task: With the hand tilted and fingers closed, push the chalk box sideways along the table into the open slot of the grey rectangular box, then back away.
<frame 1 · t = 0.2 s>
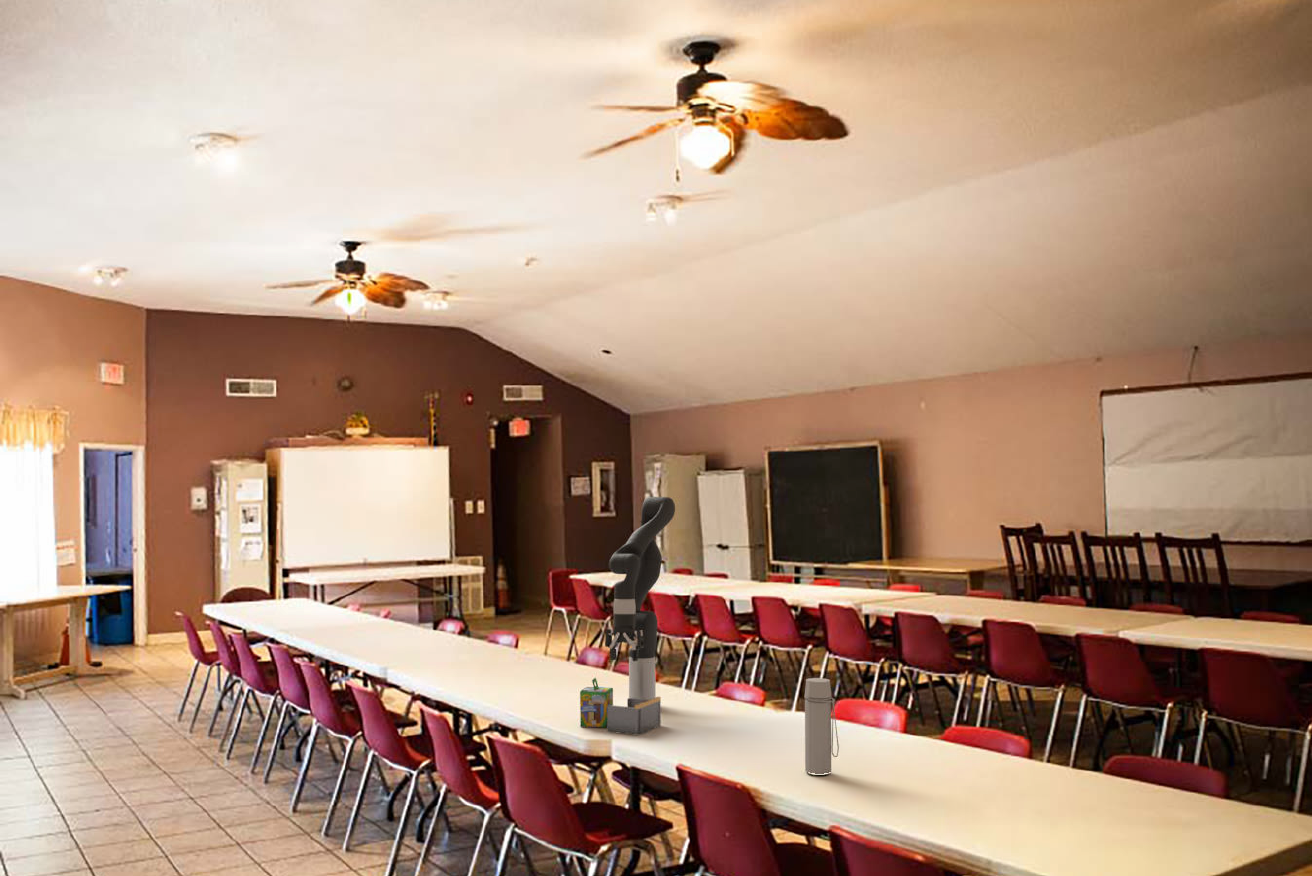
hand: (624, 660, 389), 18 cm above the table, tool pointing down, fingers open, 8 cm apart
chalk box: (596, 725, 371), on the table
grey rectangular box: (635, 728, 364), on the table
water bottle: (821, 774, 308), on the table
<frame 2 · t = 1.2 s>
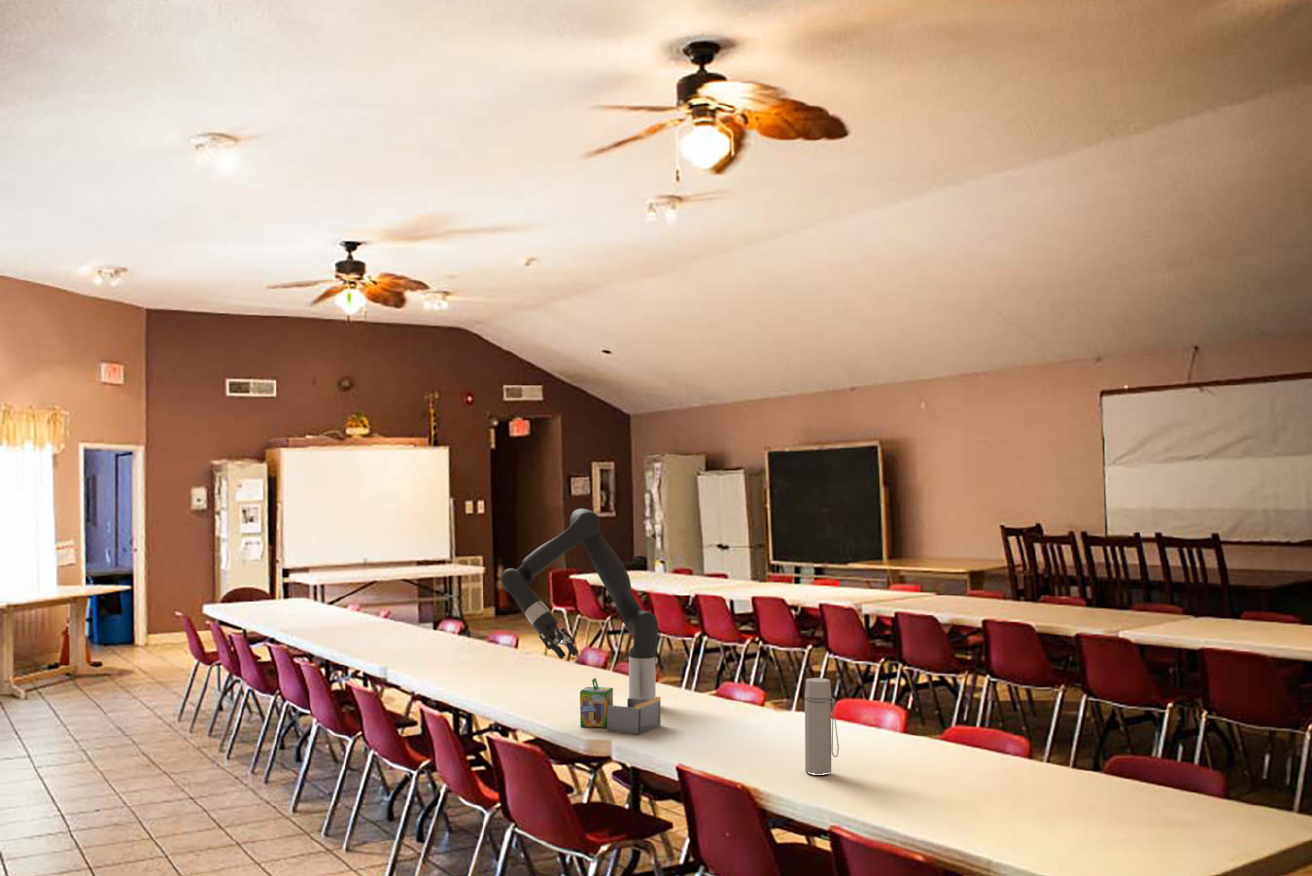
hand: (570, 655, 376), 22 cm above the table, tool tilted 45°, fingers open, 8 cm apart
nothing on the table moved.
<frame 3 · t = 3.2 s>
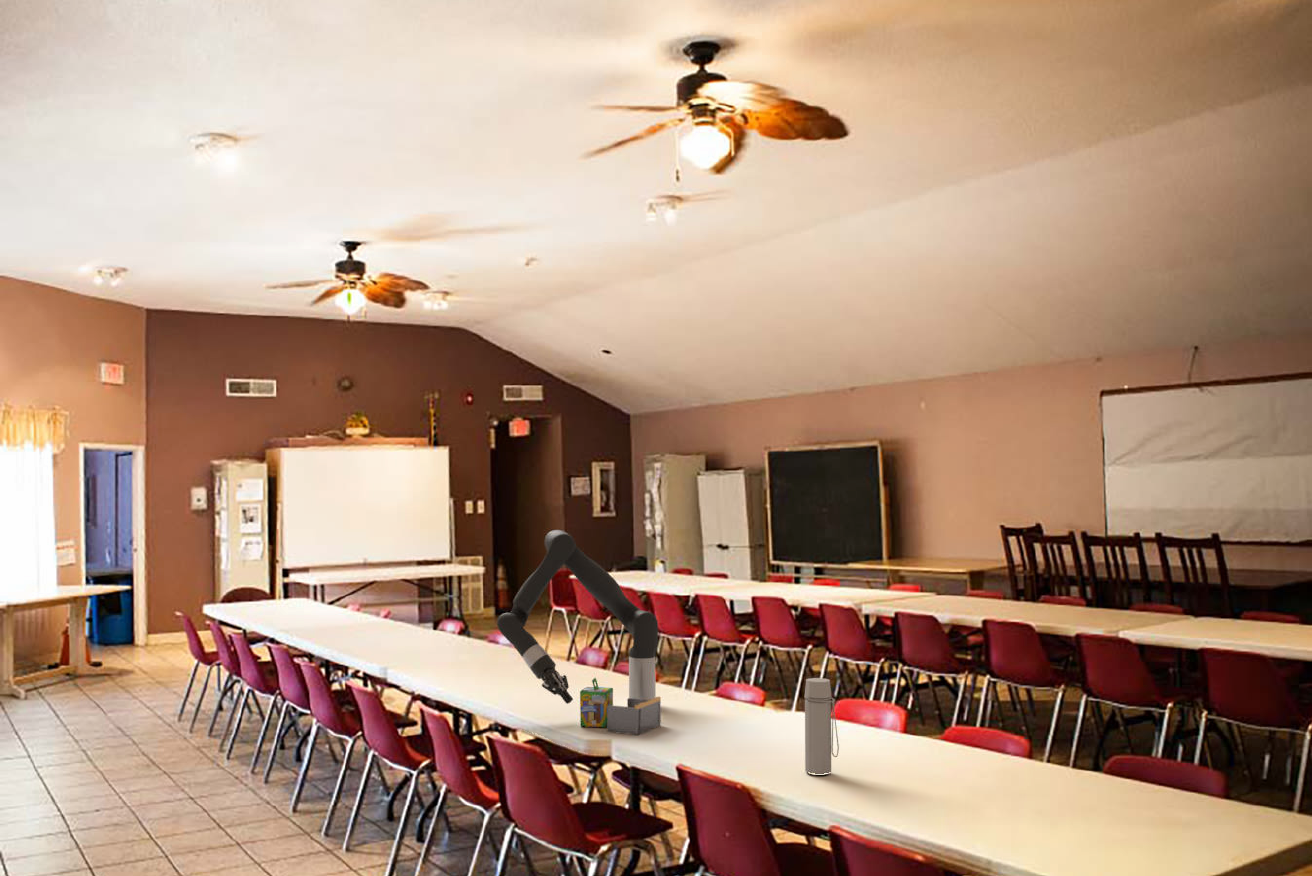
hand: (570, 701, 375), 7 cm above the table, tool tilted 45°, fingers closed
nothing on the table moved.
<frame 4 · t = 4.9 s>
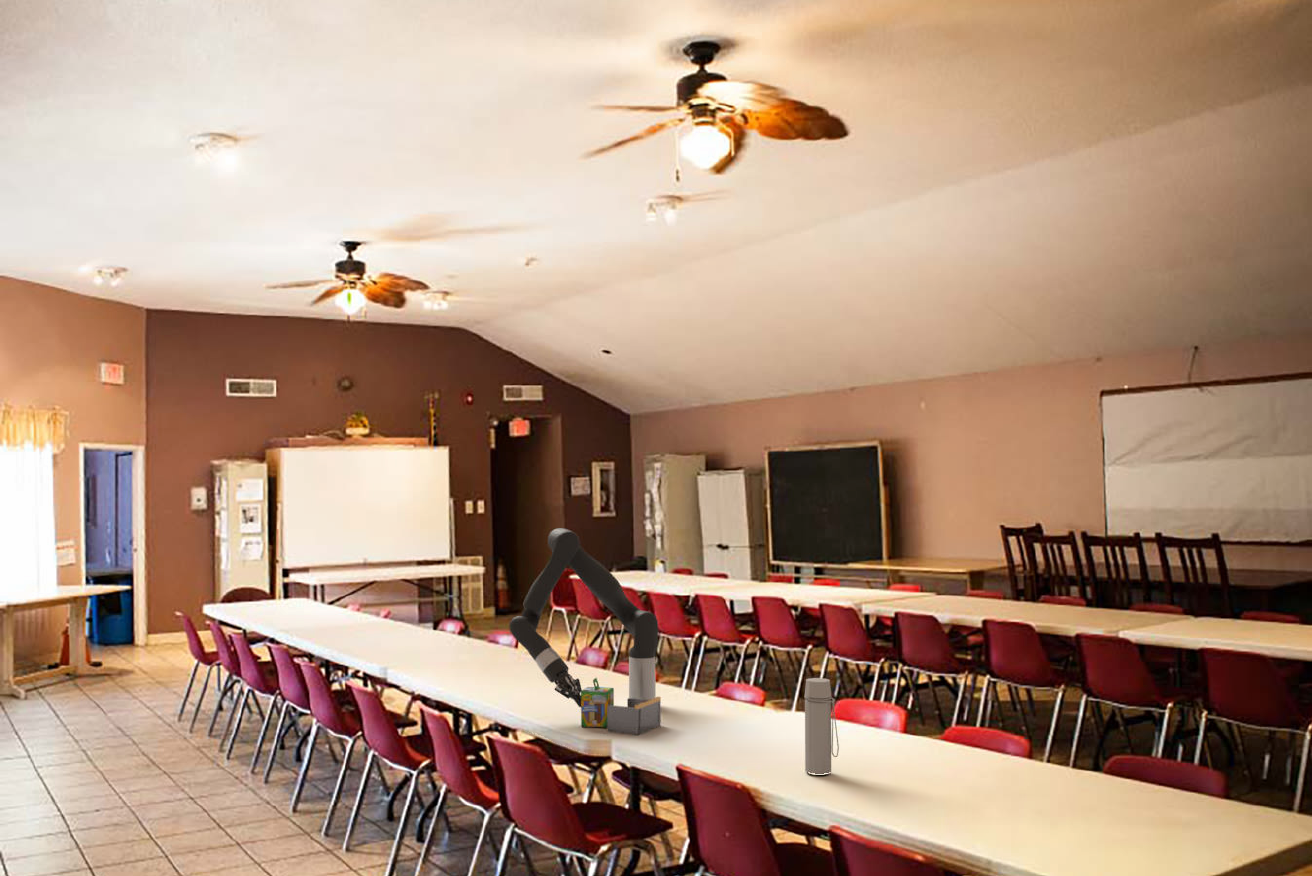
hand: (583, 705, 373), 6 cm above the table, tool tilted 45°, fingers closed
chalk box: (597, 725, 370), on the table, touching gripper
everything else where it was.
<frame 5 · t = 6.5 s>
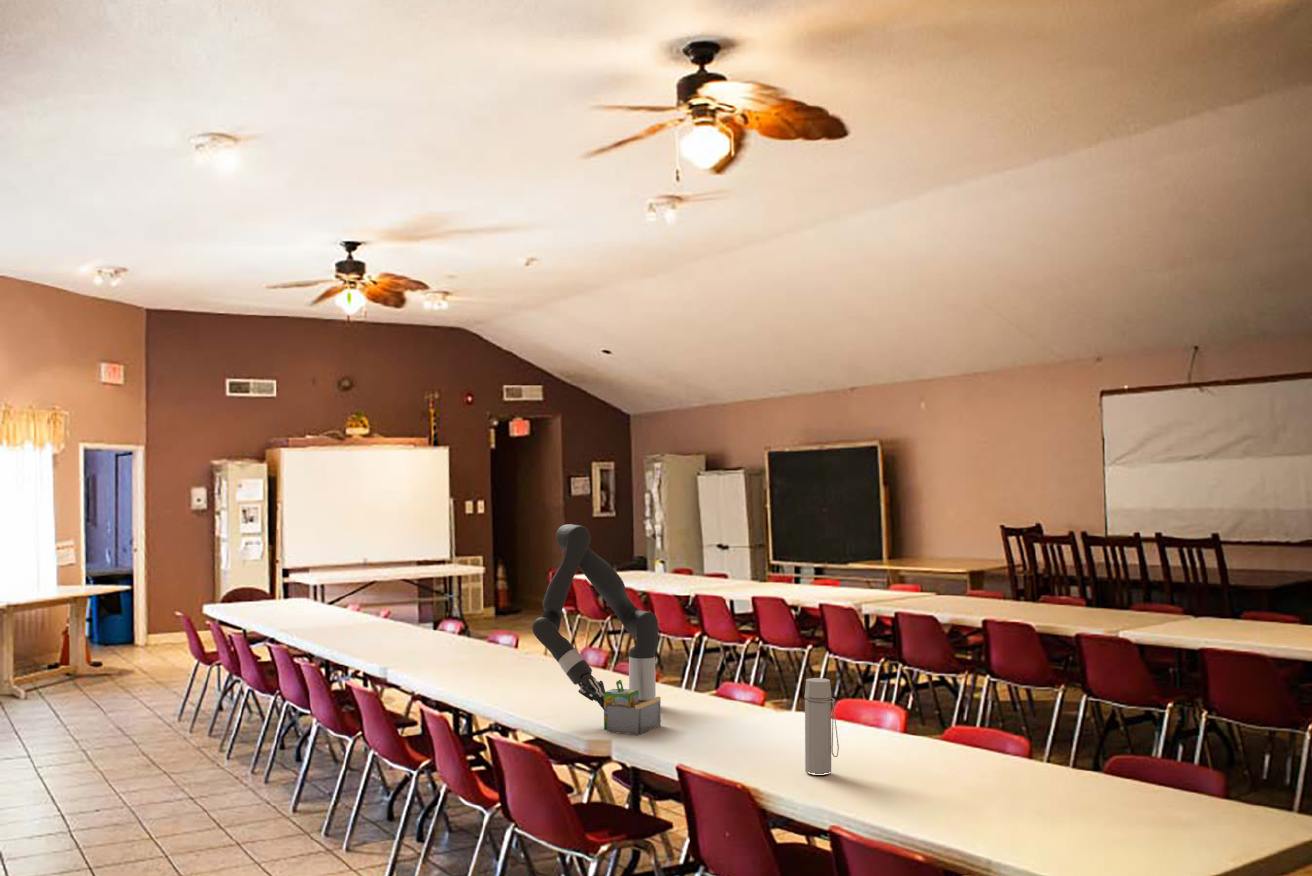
hand: (607, 708, 369), 6 cm above the table, tool tilted 45°, fingers closed
chalk box: (621, 728, 366), on the table, touching gripper
everything else where it was.
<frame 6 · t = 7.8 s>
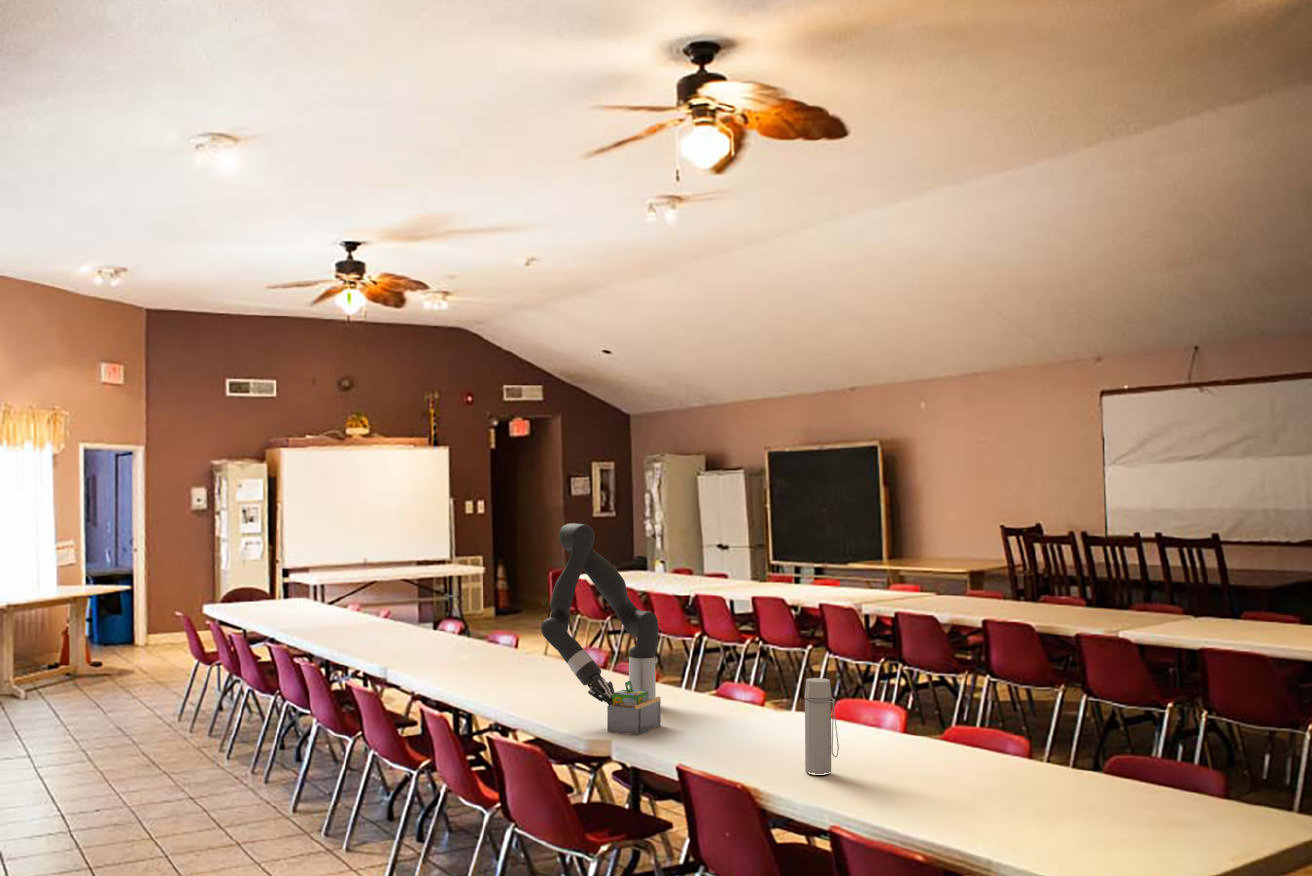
hand: (616, 708, 368), 6 cm above the table, tool tilted 45°, fingers closed
chalk box: (630, 729, 365), on the table, touching gripper
everything else where it was.
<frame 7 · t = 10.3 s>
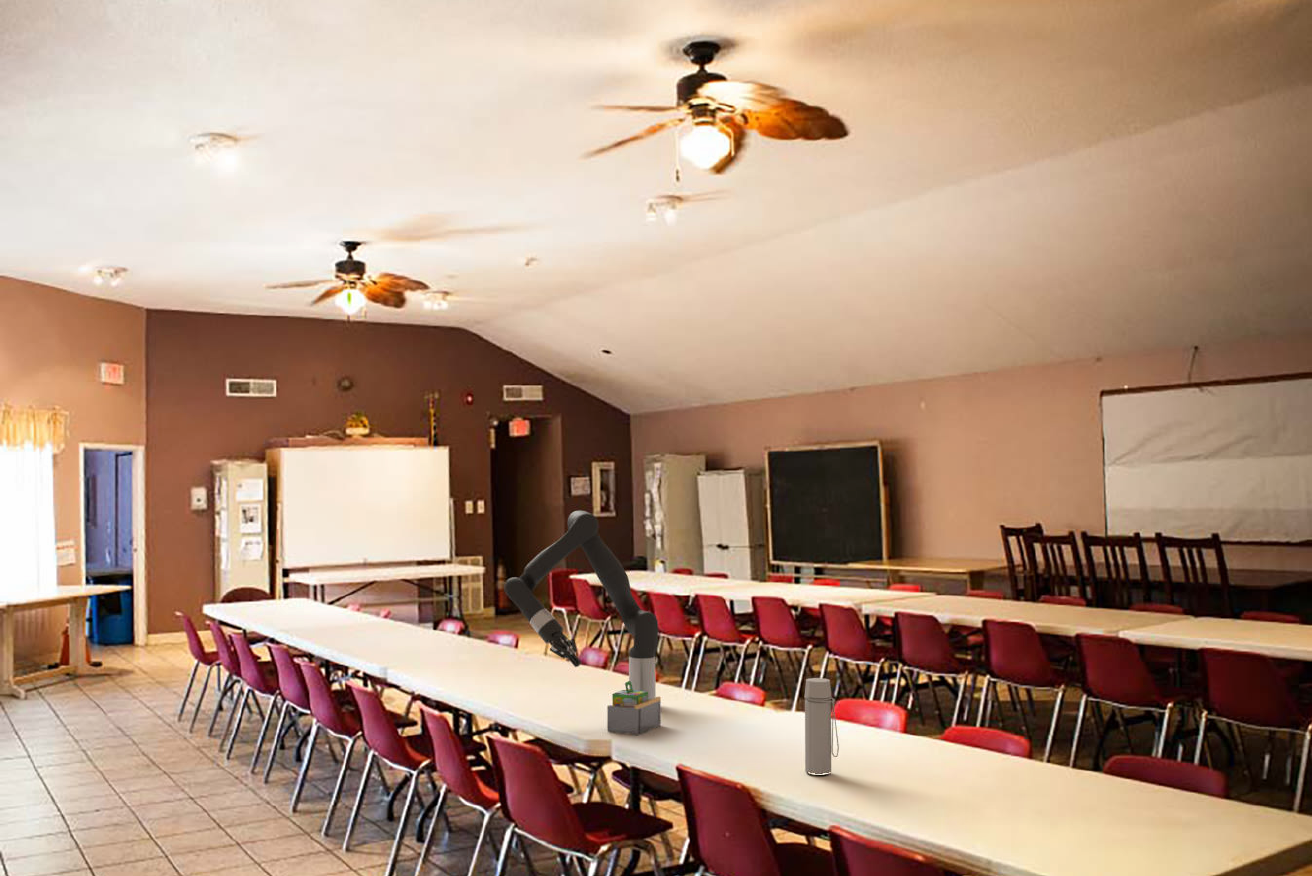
hand: (578, 665, 375), 19 cm above the table, tool tilted 45°, fingers closed
chalk box: (630, 729, 365), on the table
everything else where it was.
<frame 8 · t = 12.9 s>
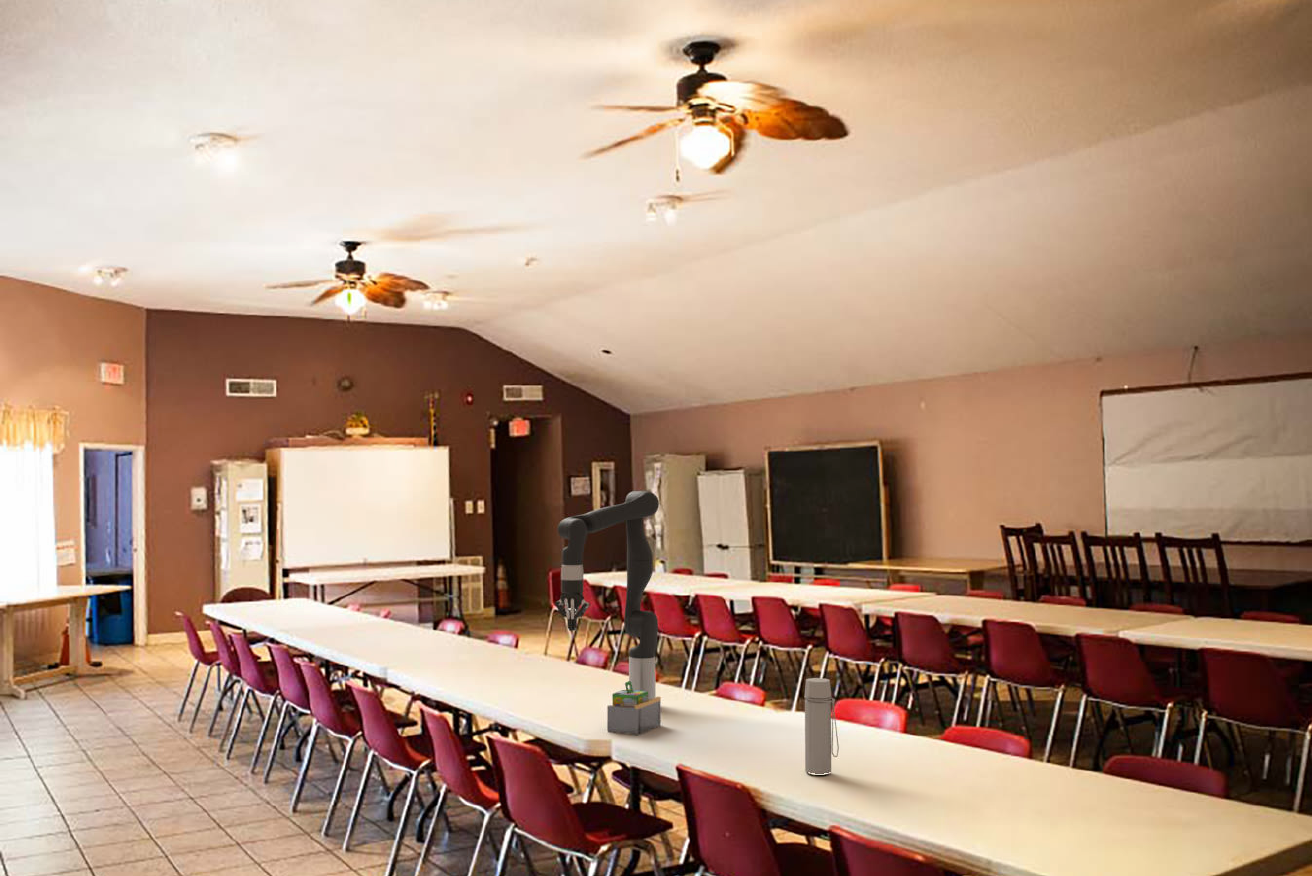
hand: (572, 630, 383), 29 cm above the table, tool pointing down, fingers closed
nothing on the table moved.
at the end: chalk box inside the target area (0.4 cm from its centre), on the table; chalk box tilted 0°; chalk box moved 12.5 cm from its start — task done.
